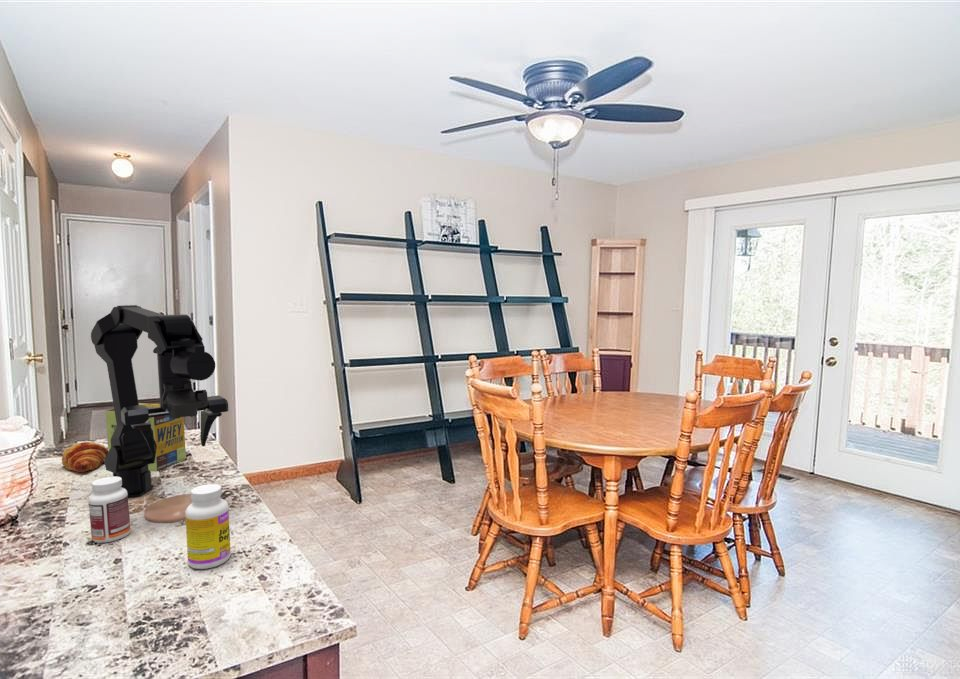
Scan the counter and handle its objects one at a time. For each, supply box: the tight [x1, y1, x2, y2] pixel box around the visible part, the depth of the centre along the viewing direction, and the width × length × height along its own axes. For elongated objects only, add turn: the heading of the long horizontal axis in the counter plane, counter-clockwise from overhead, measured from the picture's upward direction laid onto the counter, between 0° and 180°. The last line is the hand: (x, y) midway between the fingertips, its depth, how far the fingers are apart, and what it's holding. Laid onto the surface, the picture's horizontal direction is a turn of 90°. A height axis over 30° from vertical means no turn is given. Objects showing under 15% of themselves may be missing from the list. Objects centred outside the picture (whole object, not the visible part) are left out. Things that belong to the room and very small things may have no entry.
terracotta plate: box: [143, 493, 193, 524], centre depth 116 cm, size 13×13×1 cm
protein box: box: [105, 402, 187, 472], centre depth 146 cm, size 10×15×16 cm
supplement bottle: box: [185, 483, 232, 570], centre depth 93 cm, size 7×7×13 cm
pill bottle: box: [88, 476, 131, 544], centre depth 103 cm, size 6×6×11 cm
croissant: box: [61, 441, 108, 473], centre depth 146 cm, size 21×10×8 cm, turn 37°
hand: (178, 450), depth 112 cm, fingers open, 9 cm apart
